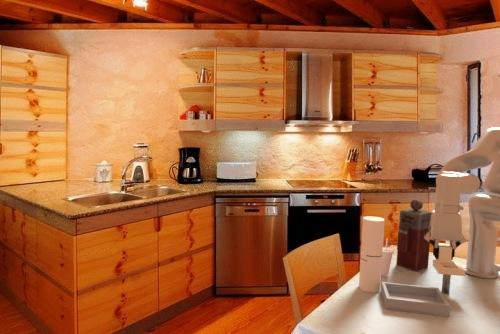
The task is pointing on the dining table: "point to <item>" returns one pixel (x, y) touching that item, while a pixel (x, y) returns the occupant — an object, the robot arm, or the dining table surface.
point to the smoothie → (386, 259)
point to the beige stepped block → (447, 262)
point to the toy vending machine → (413, 237)
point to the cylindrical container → (371, 253)
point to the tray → (414, 299)
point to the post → (446, 283)
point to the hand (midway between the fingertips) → (443, 257)
